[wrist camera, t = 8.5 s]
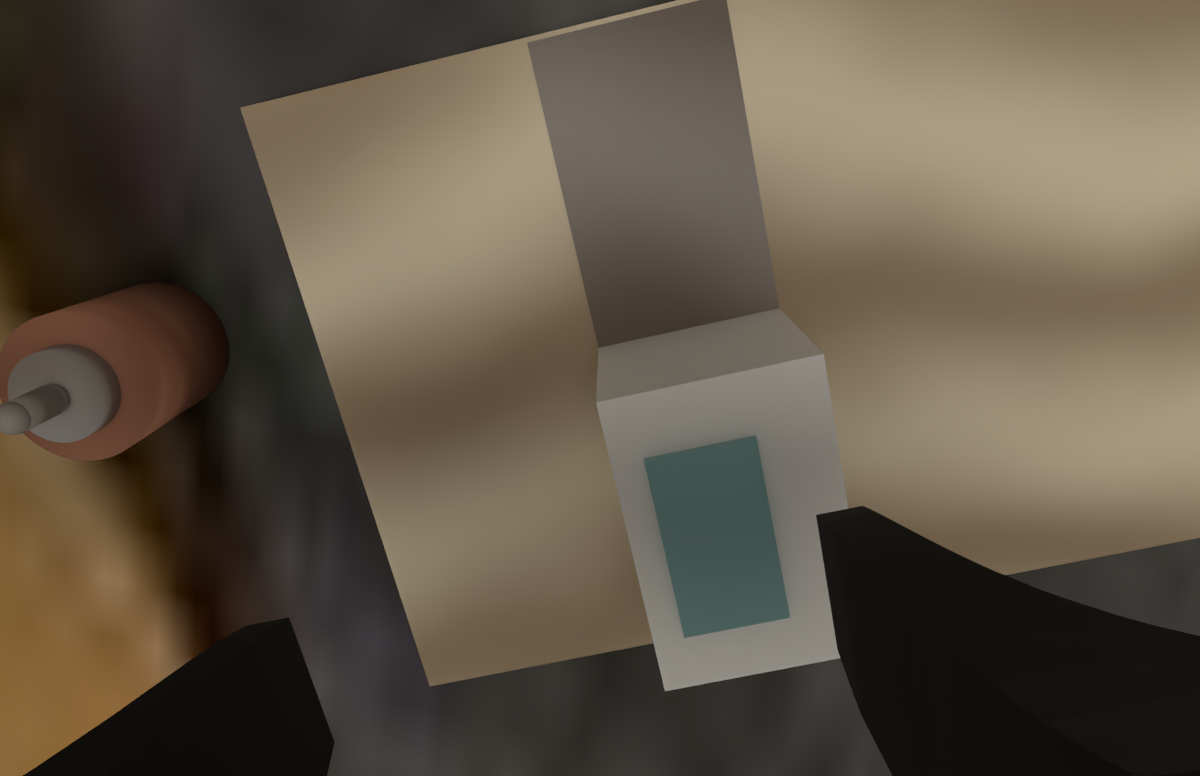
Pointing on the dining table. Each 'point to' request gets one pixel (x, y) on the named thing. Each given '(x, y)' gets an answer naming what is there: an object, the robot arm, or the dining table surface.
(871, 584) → the robot arm
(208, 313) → the awl
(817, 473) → the block
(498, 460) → the subfloor panel
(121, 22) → the dining table surface
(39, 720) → the dining table surface
